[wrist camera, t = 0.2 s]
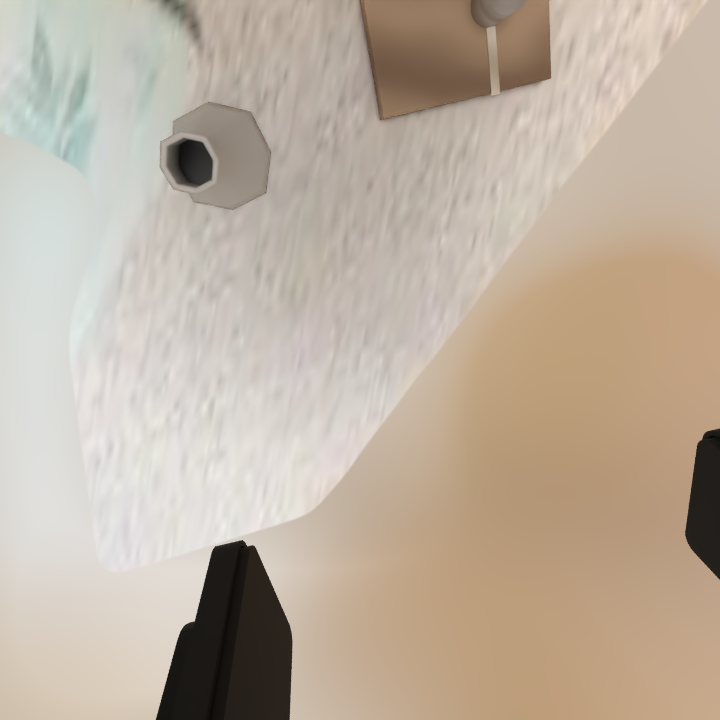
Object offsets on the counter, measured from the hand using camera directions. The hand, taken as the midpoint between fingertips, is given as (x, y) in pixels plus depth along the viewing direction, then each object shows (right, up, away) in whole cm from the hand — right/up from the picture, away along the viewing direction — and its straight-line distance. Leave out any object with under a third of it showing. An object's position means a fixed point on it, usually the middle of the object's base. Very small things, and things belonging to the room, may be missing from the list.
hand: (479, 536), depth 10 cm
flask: (-13, +19, +24) cm, 33 cm away
